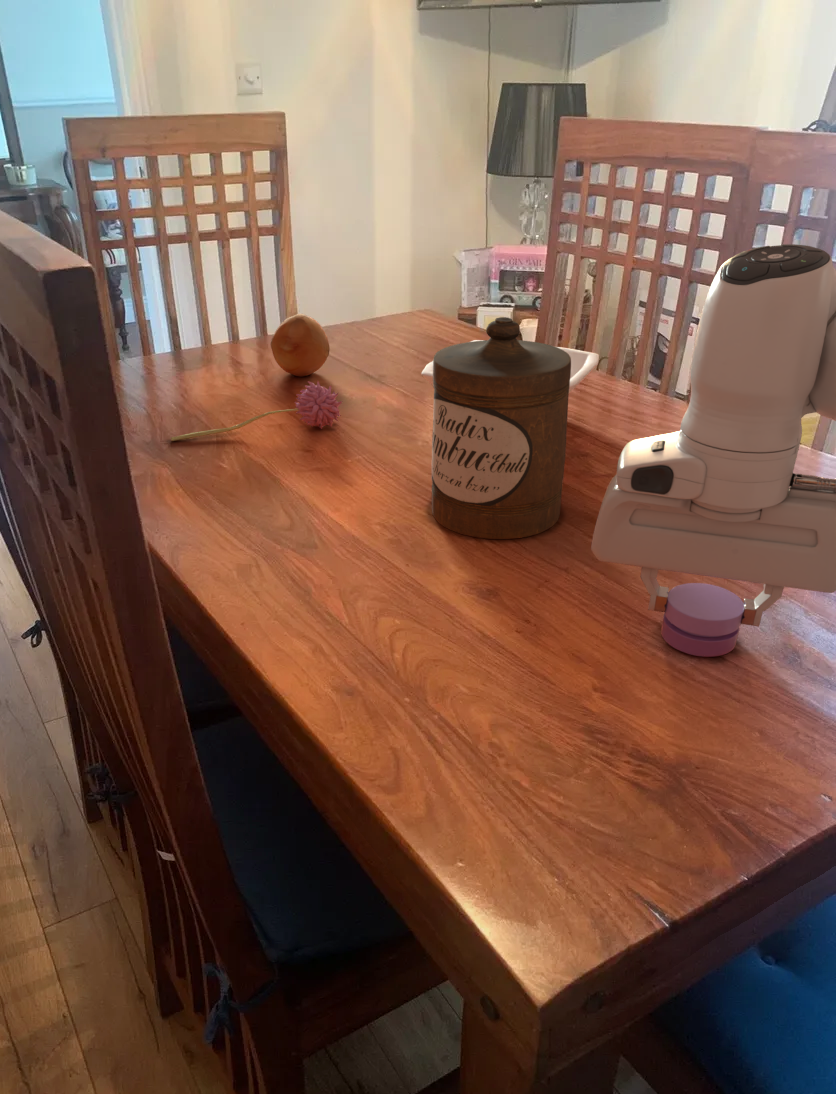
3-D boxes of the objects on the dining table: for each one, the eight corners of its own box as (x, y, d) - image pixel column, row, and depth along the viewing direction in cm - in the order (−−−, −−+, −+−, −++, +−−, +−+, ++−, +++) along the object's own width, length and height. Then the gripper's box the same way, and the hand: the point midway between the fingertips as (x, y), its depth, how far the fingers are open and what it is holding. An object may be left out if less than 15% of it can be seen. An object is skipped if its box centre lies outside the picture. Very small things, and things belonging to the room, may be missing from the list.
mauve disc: (734, 628, 79) (739, 608, 77) (735, 667, 73) (740, 646, 72) (662, 617, 80) (665, 597, 79) (657, 654, 75) (661, 634, 74)
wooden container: (405, 514, 100) (404, 320, 89) (484, 477, 109) (492, 297, 98) (507, 554, 91) (520, 345, 80) (584, 510, 100) (606, 316, 89)
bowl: (603, 407, 132) (609, 351, 128) (557, 457, 115) (563, 395, 110) (469, 388, 141) (471, 336, 136) (408, 433, 123) (408, 374, 119)
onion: (273, 367, 153) (268, 309, 148) (329, 365, 154) (326, 307, 149) (272, 383, 145) (267, 323, 140) (331, 381, 145) (329, 320, 140)
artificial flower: (180, 471, 119) (352, 426, 123) (164, 422, 117) (341, 377, 121) (178, 462, 125) (342, 419, 129) (164, 415, 123) (331, 372, 127)
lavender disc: (739, 608, 77) (744, 588, 76) (740, 646, 72) (745, 626, 71) (665, 597, 79) (669, 578, 78) (661, 634, 74) (664, 613, 73)
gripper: (871, 467, 68) (827, 615, 75) (607, 440, 74) (590, 581, 81) (883, 499, 63) (835, 654, 70) (598, 468, 69) (580, 615, 76)
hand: (701, 615), depth 76 cm, fingers closed on lavender disc, 6 cm apart
